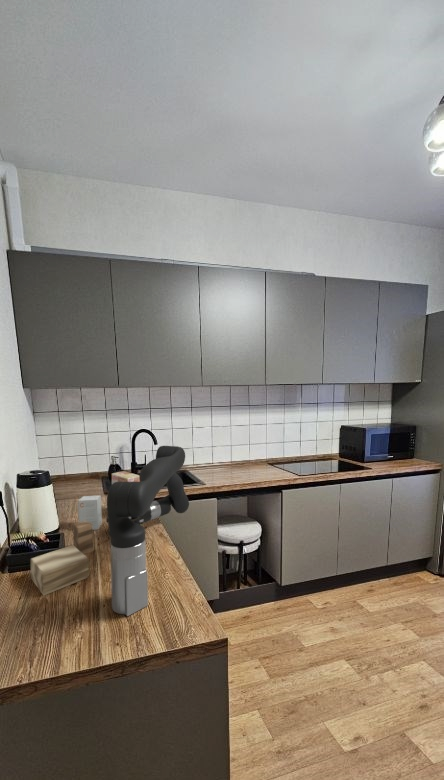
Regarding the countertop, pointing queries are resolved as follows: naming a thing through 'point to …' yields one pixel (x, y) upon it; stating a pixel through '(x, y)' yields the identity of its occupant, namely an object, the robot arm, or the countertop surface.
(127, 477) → the coffeecake box
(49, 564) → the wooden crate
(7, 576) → the countertop surface
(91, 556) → the countertop surface
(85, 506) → the small box
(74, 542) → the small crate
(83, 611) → the countertop surface
